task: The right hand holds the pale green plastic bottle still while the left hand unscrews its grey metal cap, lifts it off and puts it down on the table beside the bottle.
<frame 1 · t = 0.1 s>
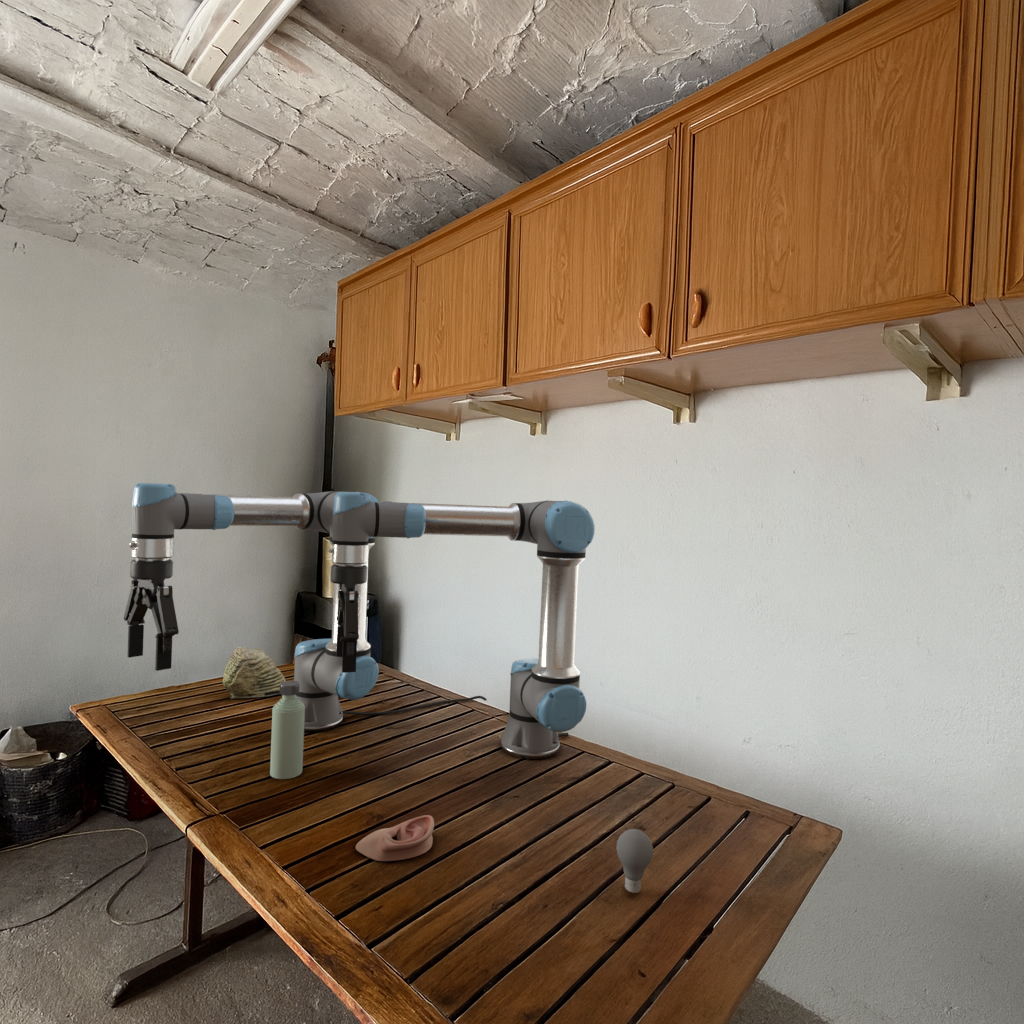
left hand: (148, 662, 129), 28 cm above the table, tool pointing down, fingers open, 13 cm apart
right hand: (345, 663, 135), 28 cm above the table, tool pointing down, fingers open, 13 cm apart
light bulb: (632, 891, 106), on the table
cap: (289, 684, 144), point 20 cm above the table, screwed on, not yet turned
fossil: (254, 694, 198), on the table
bottle: (286, 772, 145), on the table
anatomical model: (395, 846, 116), on the table
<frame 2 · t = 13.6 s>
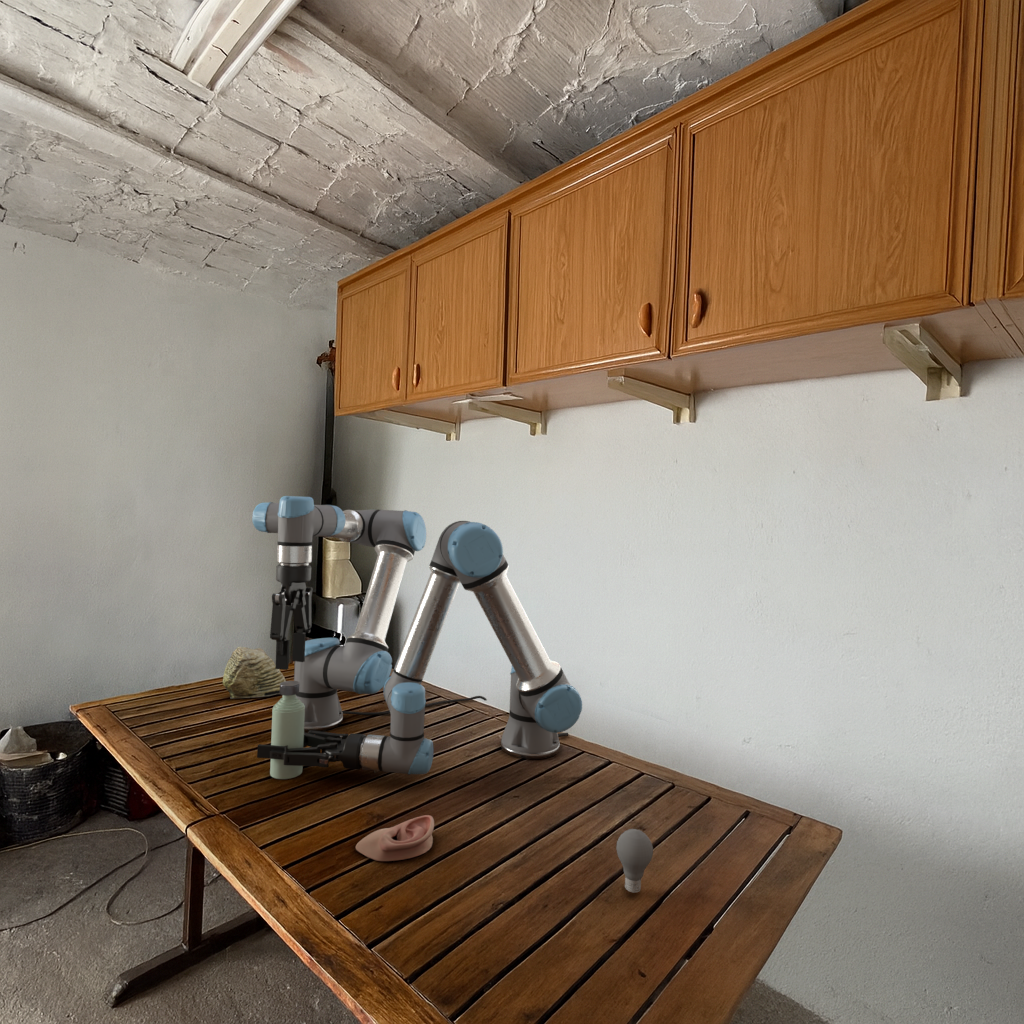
left hand: (290, 664, 144), 25 cm above the table, tool pointing down, fingers open, 6 cm apart
right hand: (266, 744, 145), 6 cm above the table, tool horizontal, fingers closed on bottle, 7 cm apart
bottle: (286, 772, 145), on the table, touching right hand
everything else where it was.
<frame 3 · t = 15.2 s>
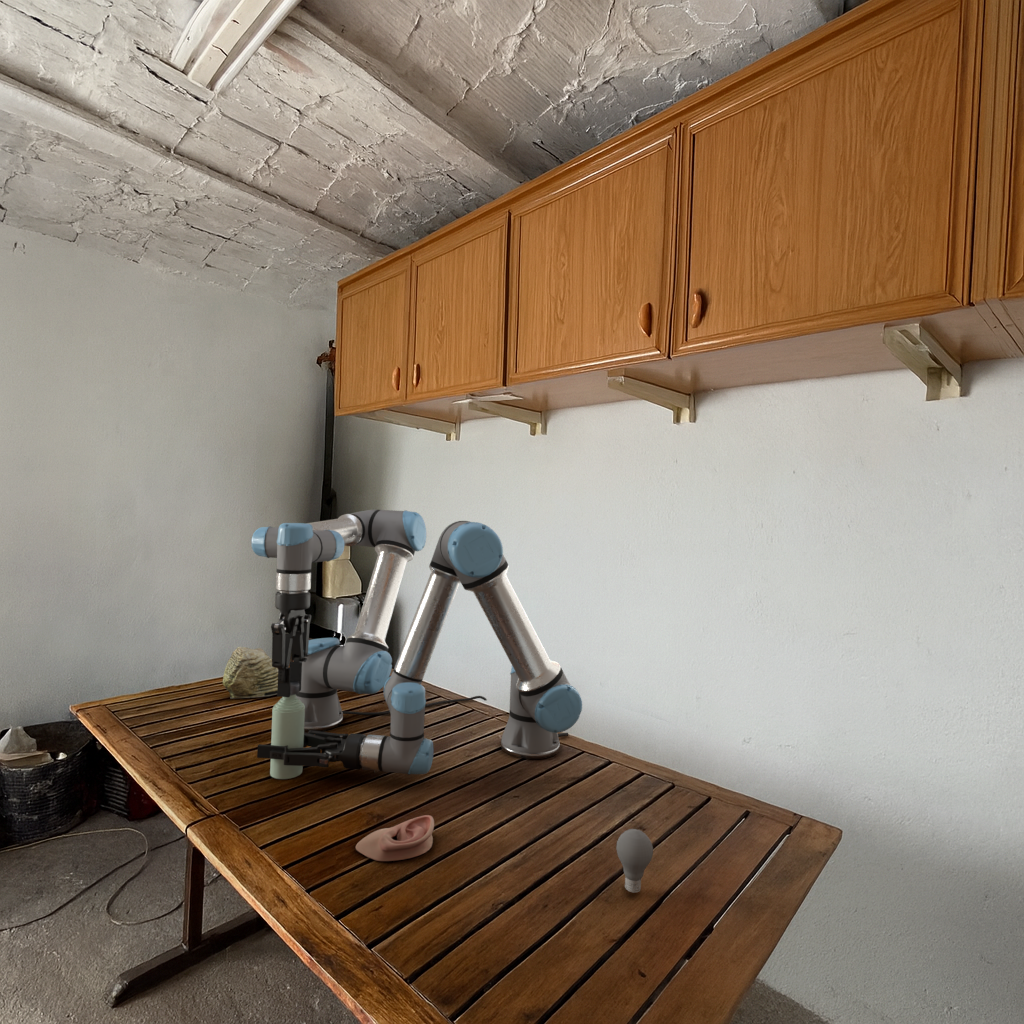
left hand: (289, 693, 144), 18 cm above the table, tool pointing down, fingers closed on cap, 4 cm apart
right hand: (266, 744, 145), 6 cm above the table, tool horizontal, fingers closed on bottle, 7 cm apart
cap: (289, 684, 144), point 20 cm above the table, screwed on, not yet turned, touching left hand
bottle: (286, 772, 145), on the table, touching right hand
everything else where it was.
when the left hand's fingers open (1 cm above the table, at t = 29.2 s): cap drops 1 cm, point 2 cm above the table.
when the right hand's fingers open (6 cm above the table, at t = 30.4 s): bottle stays where it is, on the table.
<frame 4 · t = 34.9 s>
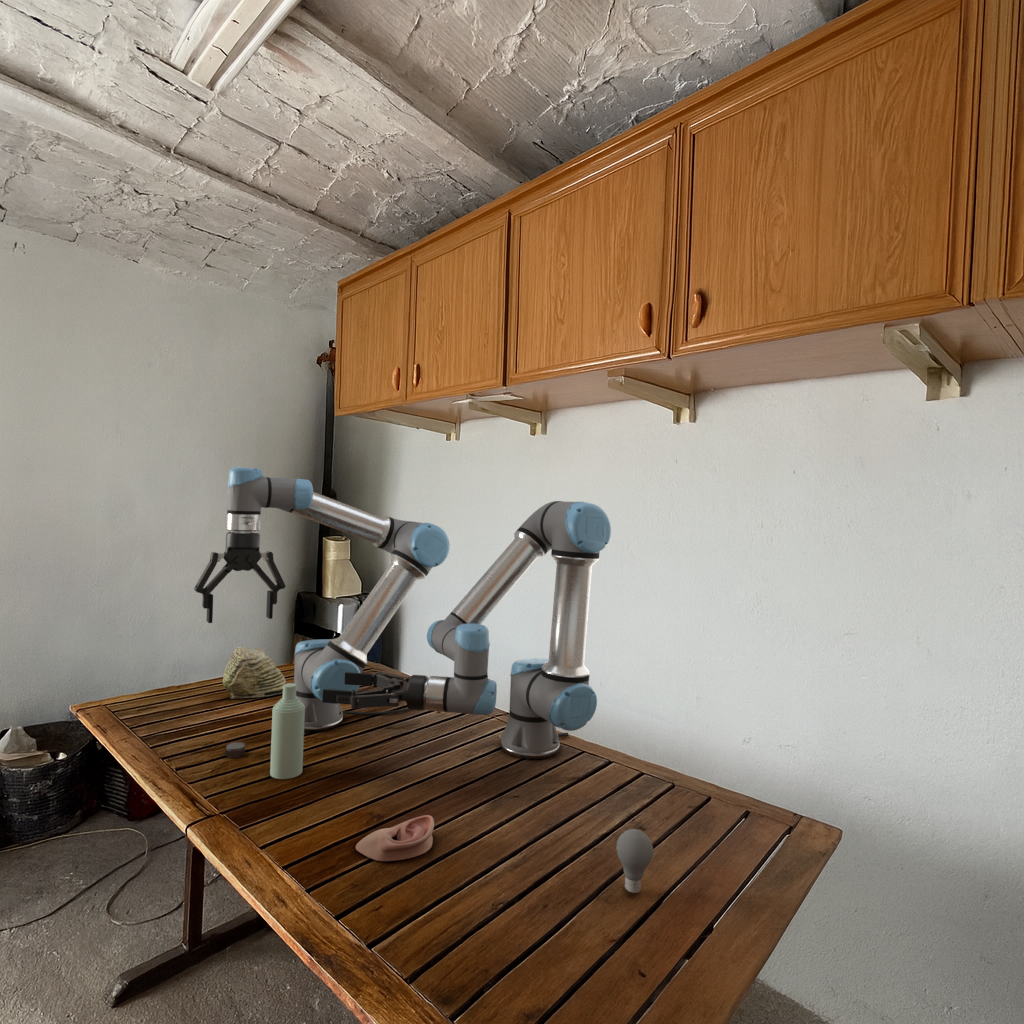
left hand: (240, 620, 152), 33 cm above the table, tool pointing down, fingers open, 13 cm apart
right hand: (334, 686, 143), 20 cm above the table, tool horizontal, fingers open, 13 cm apart
cap: (235, 746, 153), point 2 cm above the table, off its thread
bottle: (286, 772, 145), on the table
everything else where it was.
at the end: cap came off its thread; cap point 1.9 cm above the table; the left hand is holding nothing; the right hand is holding nothing; bottle tilted 0°; bottle moved 0.0 cm from its start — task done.
